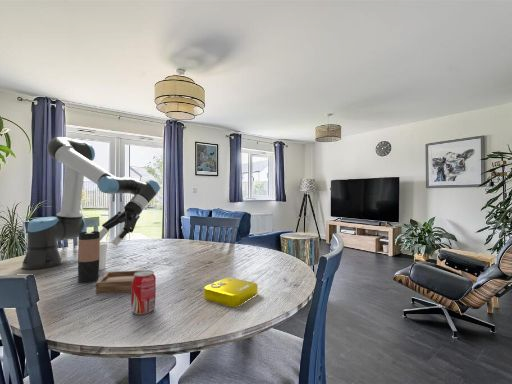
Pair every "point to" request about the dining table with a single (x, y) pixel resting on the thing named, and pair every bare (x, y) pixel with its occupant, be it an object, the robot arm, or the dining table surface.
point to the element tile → (230, 291)
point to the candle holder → (102, 255)
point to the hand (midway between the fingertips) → (104, 242)
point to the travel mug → (88, 256)
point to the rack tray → (115, 282)
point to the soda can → (143, 292)
